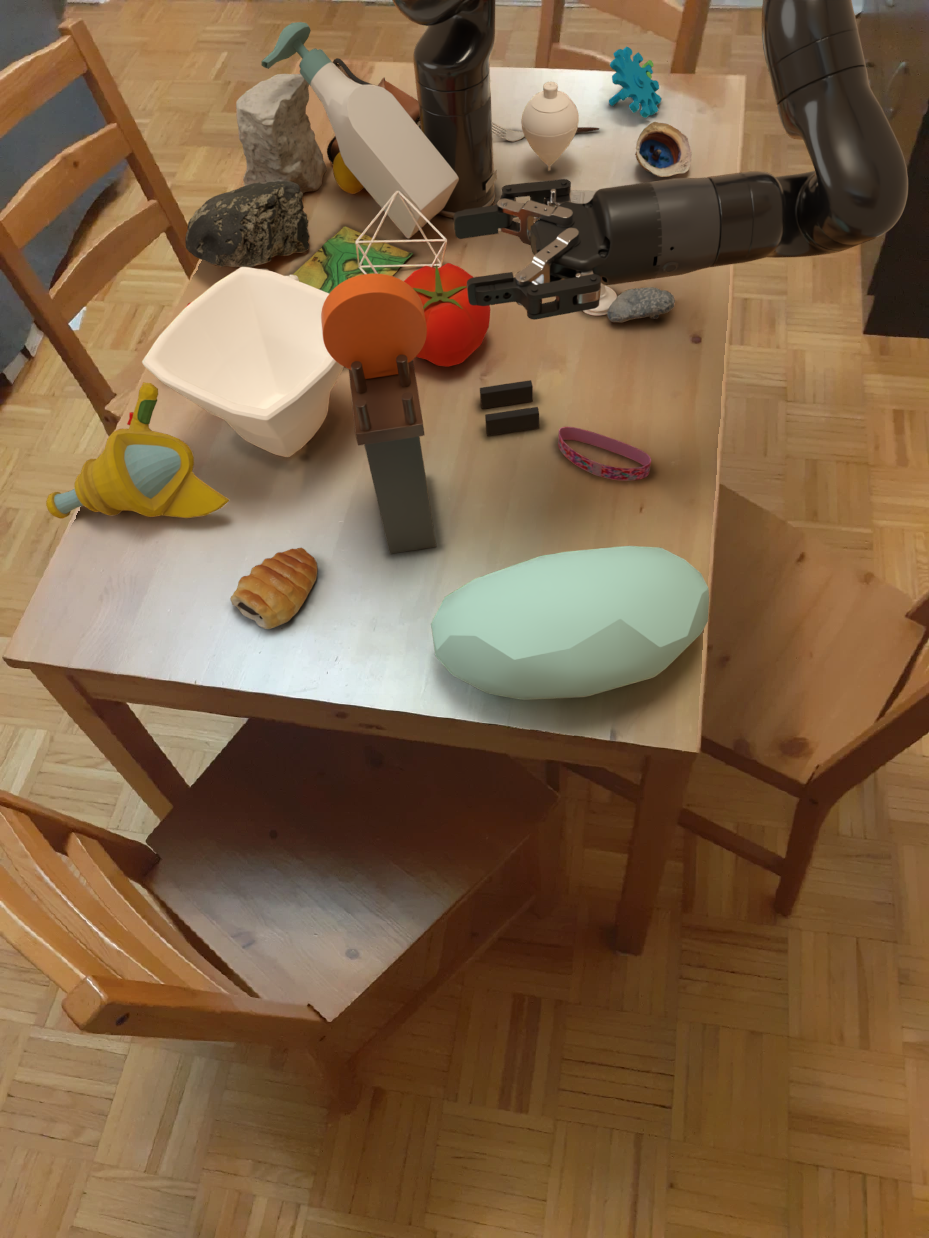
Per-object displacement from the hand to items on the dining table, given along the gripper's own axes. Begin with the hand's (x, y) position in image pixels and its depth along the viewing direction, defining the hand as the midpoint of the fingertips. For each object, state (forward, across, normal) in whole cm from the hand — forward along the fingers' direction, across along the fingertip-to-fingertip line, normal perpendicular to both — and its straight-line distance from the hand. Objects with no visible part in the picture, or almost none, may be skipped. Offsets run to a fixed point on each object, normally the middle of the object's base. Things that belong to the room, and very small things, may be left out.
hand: (460, 258), depth 77 cm
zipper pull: (-23, -41, +30) cm, 56 cm away
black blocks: (-5, -9, +30) cm, 31 cm away
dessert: (-33, -50, +24) cm, 65 cm away
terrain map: (+11, -39, +29) cm, 50 cm away
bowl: (+21, -12, +30) cm, 38 cm away
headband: (-14, -1, +30) cm, 33 cm away
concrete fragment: (+20, -51, +23) cm, 60 cm away
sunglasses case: (+5, -68, +30) cm, 74 cm away
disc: (+8, +1, +10) cm, 13 cm away
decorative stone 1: (+17, -57, +30) cm, 67 cm away
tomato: (+1, -22, +30) cm, 37 cm away
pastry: (+23, +11, +30) cm, 39 cm away
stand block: (+8, +3, +30) cm, 31 cm away
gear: (-33, -66, +30) cm, 80 cm away
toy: (+39, -10, +20) cm, 45 cm away
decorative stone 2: (-2, +26, +31) cm, 40 cm away
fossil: (-23, -25, +28) cm, 44 cm away
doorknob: (+9, -52, +26) cm, 58 cm away
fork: (-19, -62, +30) cm, 72 cm away
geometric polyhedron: (0, -37, +30) cm, 47 cm away
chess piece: (-19, -26, +30) cm, 44 cm away
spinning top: (-18, -54, +30) cm, 64 cm away
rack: (+8, +3, +12) cm, 14 cm away
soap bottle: (0, -41, +25) cm, 48 cm away
